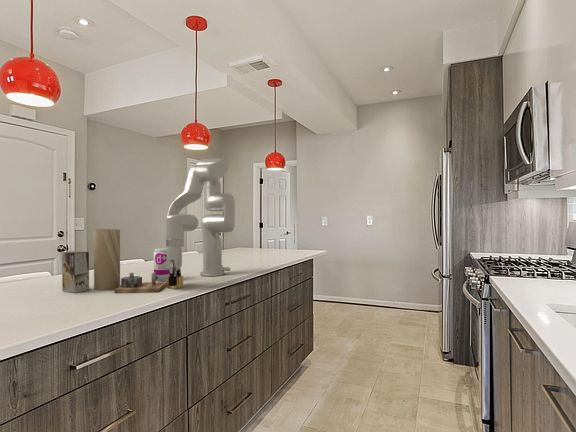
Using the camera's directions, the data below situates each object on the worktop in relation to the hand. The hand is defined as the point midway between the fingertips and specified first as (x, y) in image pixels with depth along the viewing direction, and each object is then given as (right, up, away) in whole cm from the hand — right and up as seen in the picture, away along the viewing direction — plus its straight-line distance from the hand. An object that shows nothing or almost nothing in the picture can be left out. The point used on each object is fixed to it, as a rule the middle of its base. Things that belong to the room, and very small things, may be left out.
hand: (175, 283), depth 155 cm
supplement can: (-11, -2, +17) cm, 20 cm away
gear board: (-13, -1, -4) cm, 13 cm away
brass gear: (0, -1, 0) cm, 1 cm away
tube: (-29, -2, -2) cm, 29 cm away
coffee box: (-39, -2, -7) cm, 40 cm away
